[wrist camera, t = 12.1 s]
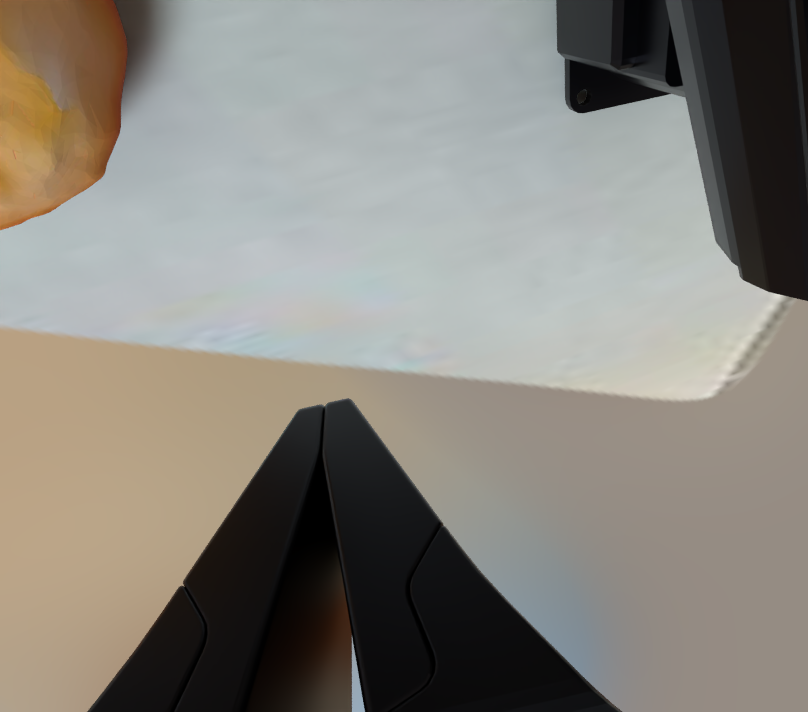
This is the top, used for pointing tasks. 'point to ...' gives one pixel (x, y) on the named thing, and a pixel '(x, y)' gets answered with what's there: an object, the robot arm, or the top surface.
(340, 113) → the top surface
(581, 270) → the top surface
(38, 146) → the fruit
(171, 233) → the top surface
